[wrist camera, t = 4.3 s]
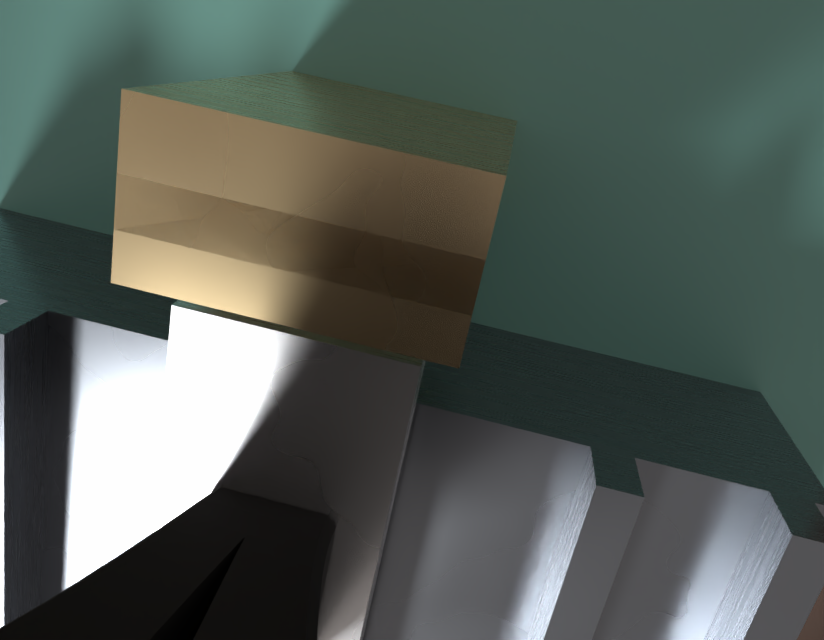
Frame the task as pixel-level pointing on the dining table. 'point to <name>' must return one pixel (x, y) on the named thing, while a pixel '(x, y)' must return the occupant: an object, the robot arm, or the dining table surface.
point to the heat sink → (399, 333)
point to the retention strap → (289, 435)
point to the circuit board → (517, 153)
